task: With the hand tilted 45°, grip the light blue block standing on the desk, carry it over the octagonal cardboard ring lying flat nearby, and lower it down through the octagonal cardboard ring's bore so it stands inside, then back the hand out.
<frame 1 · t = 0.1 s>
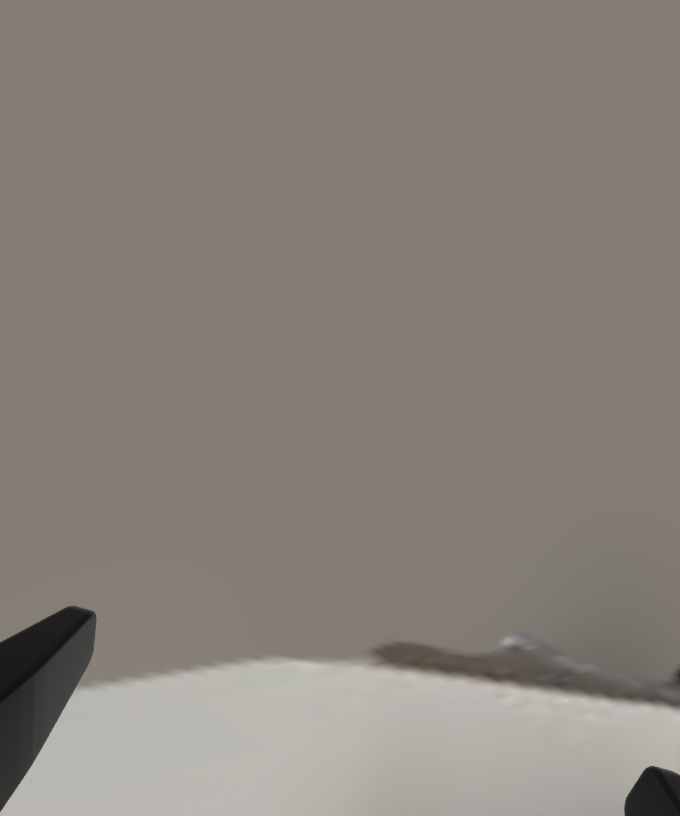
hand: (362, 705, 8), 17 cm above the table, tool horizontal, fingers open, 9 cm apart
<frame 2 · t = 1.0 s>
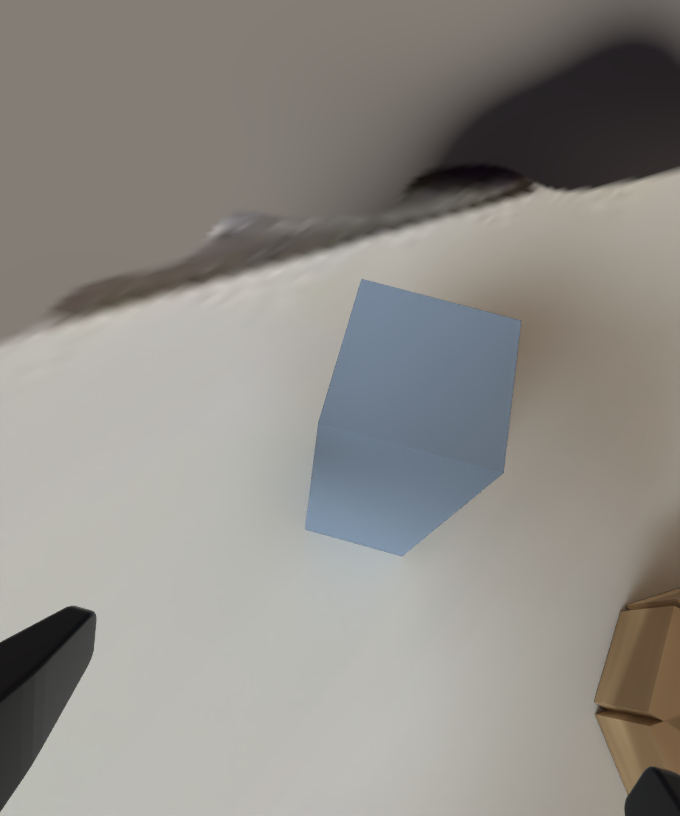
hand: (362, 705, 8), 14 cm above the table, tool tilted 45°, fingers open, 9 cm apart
light blue block: (364, 495, 24), on the table
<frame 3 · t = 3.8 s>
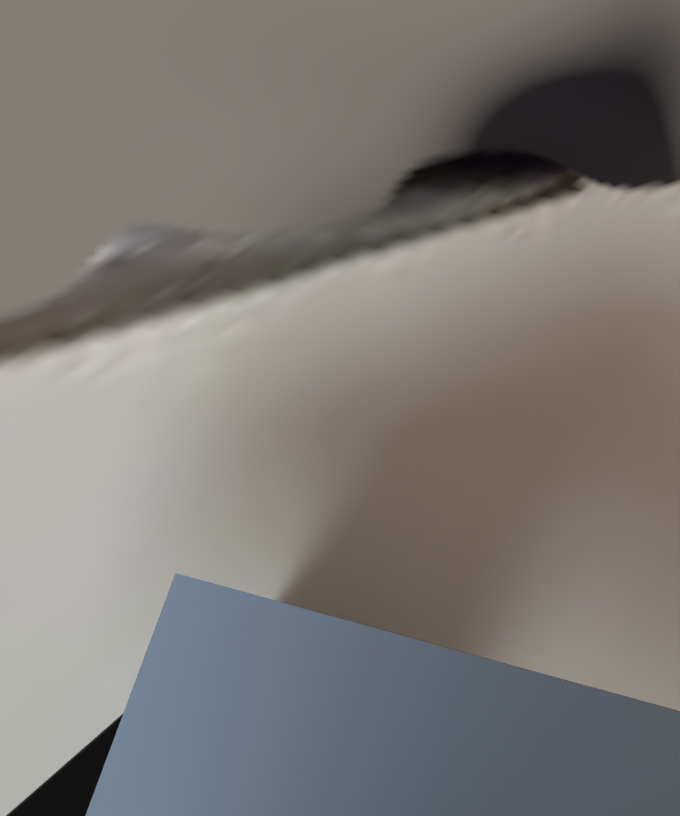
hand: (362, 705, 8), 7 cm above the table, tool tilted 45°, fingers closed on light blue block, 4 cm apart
light blue block: (319, 735, 13), on the table, touching gripper
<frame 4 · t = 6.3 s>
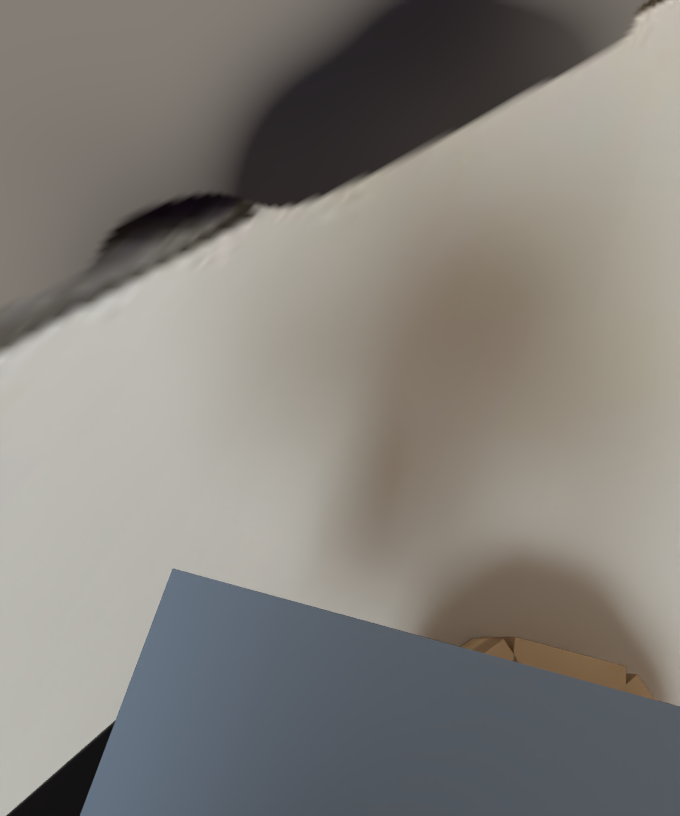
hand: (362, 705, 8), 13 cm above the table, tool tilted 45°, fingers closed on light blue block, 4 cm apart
light blue block: (318, 733, 13), point 7 cm above the table, touching gripper
octagonal cardboard ring: (516, 805, 19), on the table
when the fingers open (8 cm above the table, at t = 8.7 s): light blue block drops 1 cm, resting in octagonal cardboard ring.
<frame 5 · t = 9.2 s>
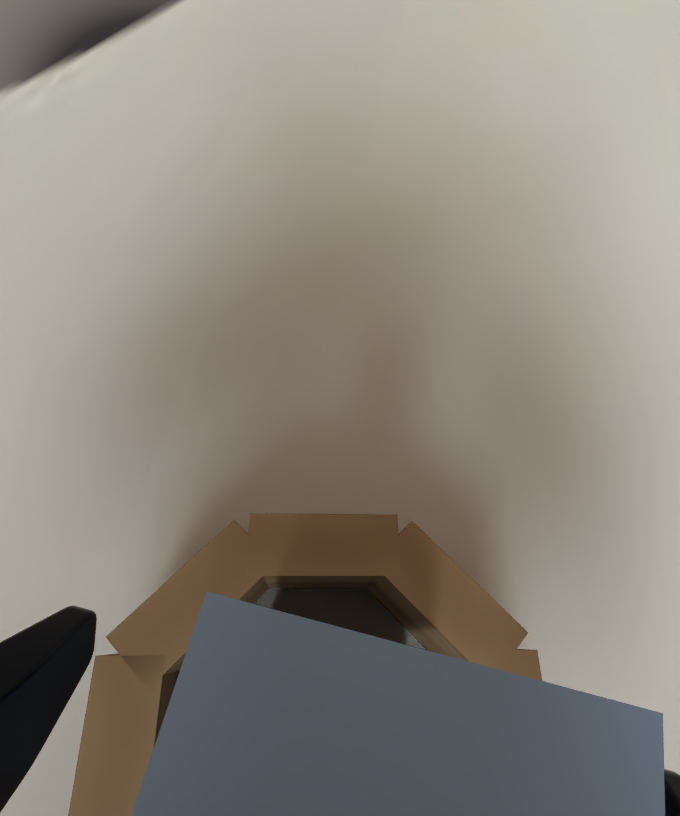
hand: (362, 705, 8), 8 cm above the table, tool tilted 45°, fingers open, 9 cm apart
light blue block: (316, 725, 15), resting in octagonal cardboard ring
octagonal cardboard ring: (317, 726, 15), on the table
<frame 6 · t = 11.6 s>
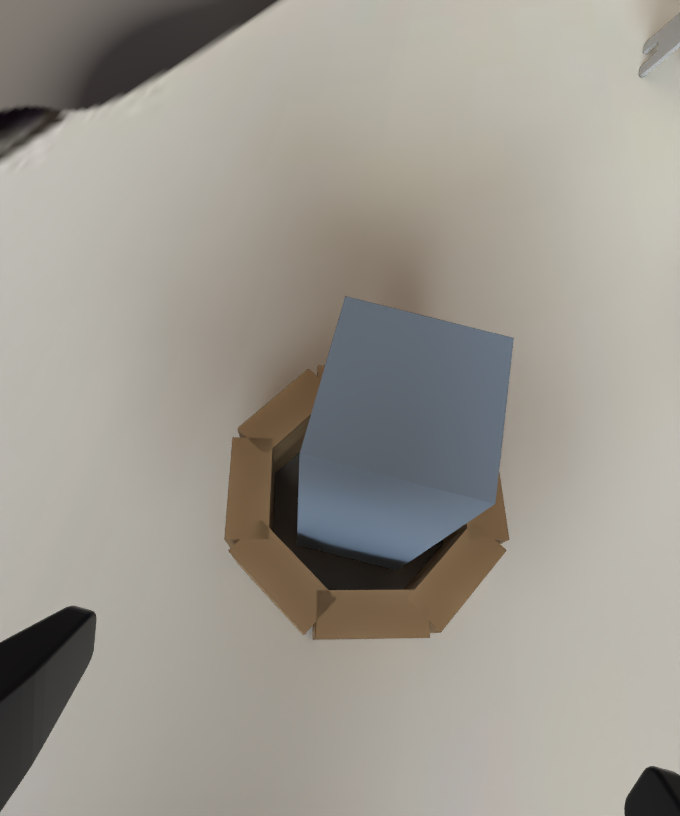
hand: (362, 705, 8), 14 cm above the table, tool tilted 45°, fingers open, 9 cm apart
light blue block: (357, 508, 23), resting in octagonal cardboard ring
octagonal cardboard ring: (358, 508, 23), on the table
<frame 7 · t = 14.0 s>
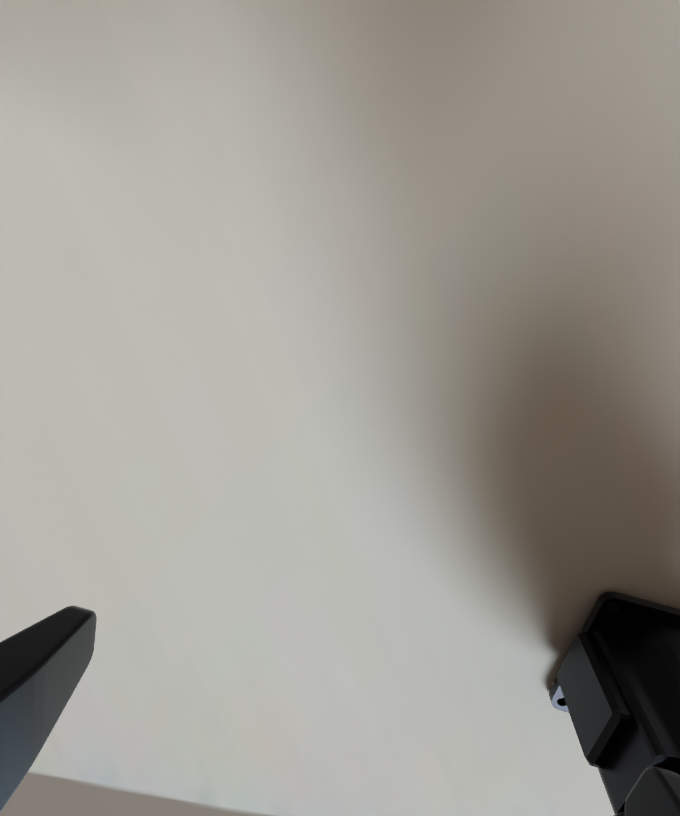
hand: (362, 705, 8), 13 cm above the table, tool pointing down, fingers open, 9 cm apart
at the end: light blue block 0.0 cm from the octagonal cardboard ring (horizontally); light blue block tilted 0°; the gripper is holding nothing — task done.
